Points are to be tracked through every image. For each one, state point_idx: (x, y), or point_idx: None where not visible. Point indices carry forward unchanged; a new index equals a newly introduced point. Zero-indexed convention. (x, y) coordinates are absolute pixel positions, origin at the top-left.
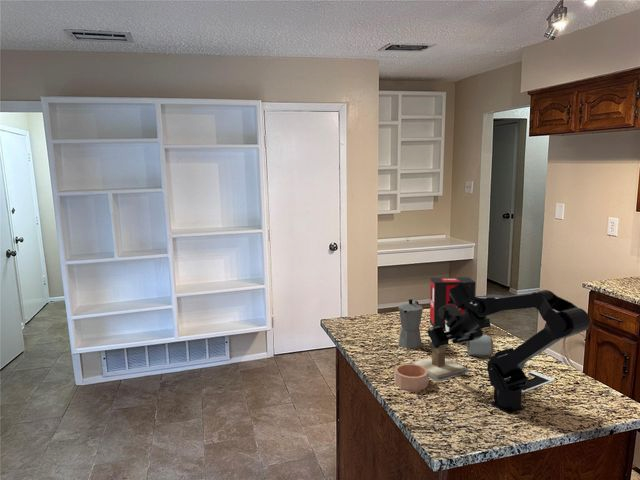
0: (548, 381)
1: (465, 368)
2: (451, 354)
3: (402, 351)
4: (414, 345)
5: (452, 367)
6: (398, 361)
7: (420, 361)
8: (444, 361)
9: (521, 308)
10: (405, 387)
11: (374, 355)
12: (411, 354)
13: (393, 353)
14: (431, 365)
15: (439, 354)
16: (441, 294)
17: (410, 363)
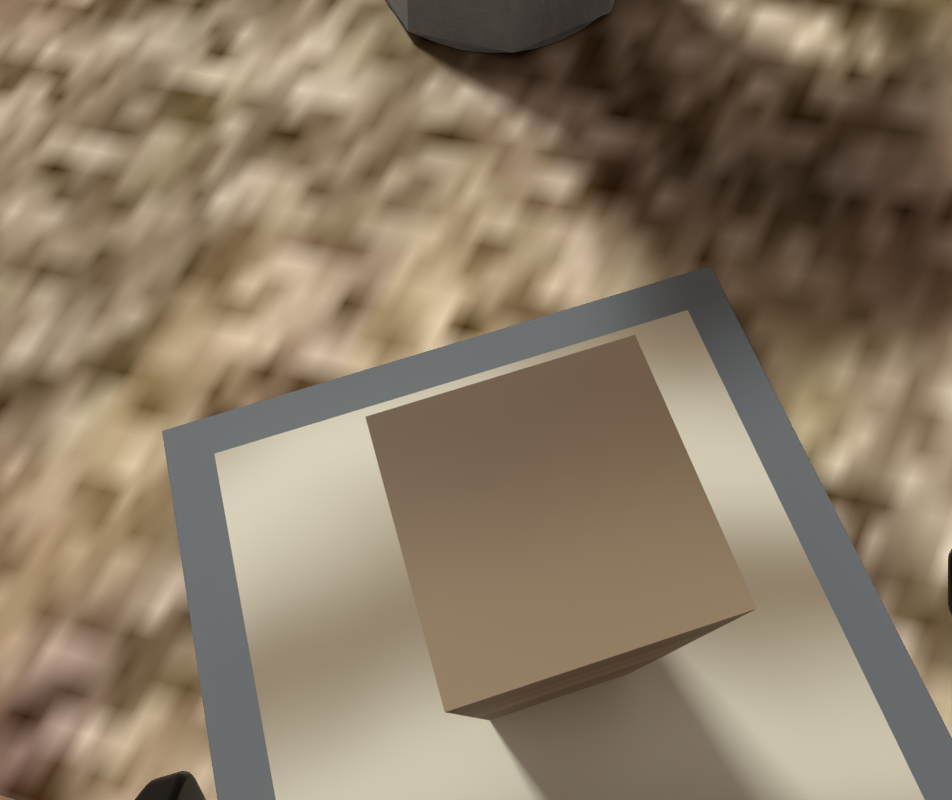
0: None
1: (947, 769)
2: (896, 243)
3: (343, 77)
4: (496, 13)
5: (718, 788)
6: (158, 300)
7: (334, 453)
8: (624, 673)
9: None
10: None
11: (3, 116)
12: (403, 160)
13: (222, 105)
14: (419, 626)
15: (505, 709)
16: None
17: (231, 415)
